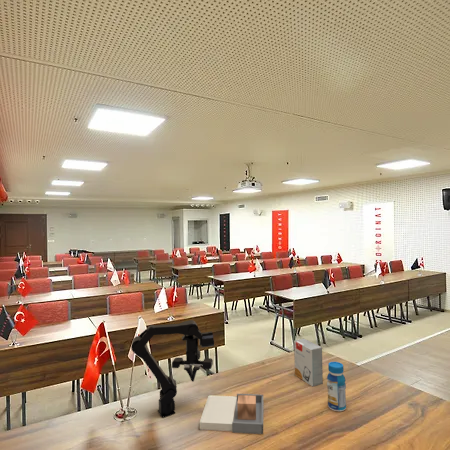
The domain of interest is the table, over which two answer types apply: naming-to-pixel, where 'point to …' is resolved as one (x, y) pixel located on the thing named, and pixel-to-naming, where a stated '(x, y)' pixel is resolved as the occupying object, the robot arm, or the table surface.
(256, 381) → the table surface
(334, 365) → the beverage bottle
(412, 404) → the table surface
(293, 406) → the table surface
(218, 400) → the cream slab
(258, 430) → the box
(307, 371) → the hard drive box
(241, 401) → the block
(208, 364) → the robot arm
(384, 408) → the table surface
